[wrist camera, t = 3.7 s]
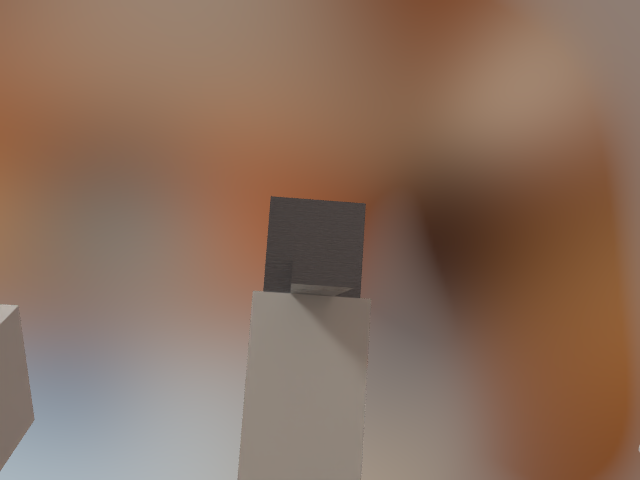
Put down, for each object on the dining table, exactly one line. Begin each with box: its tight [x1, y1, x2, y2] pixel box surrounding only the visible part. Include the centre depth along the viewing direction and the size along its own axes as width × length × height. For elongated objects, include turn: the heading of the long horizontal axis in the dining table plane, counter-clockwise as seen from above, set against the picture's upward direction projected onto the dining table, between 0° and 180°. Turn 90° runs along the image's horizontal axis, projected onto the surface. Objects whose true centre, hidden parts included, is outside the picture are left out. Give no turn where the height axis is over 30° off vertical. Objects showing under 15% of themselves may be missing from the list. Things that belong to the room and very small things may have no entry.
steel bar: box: [263, 196, 366, 298], centre depth 28 cm, size 5×16×5 cm, turn 3°
